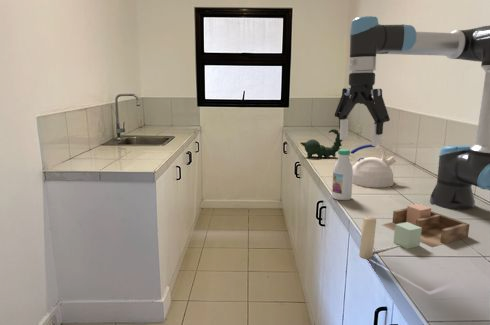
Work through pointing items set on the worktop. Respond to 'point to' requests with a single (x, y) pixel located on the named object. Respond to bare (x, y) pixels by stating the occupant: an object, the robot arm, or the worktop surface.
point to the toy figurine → (322, 147)
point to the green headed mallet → (403, 236)
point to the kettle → (373, 170)
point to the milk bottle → (342, 176)
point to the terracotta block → (417, 212)
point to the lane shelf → (434, 227)
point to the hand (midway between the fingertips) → (359, 142)
